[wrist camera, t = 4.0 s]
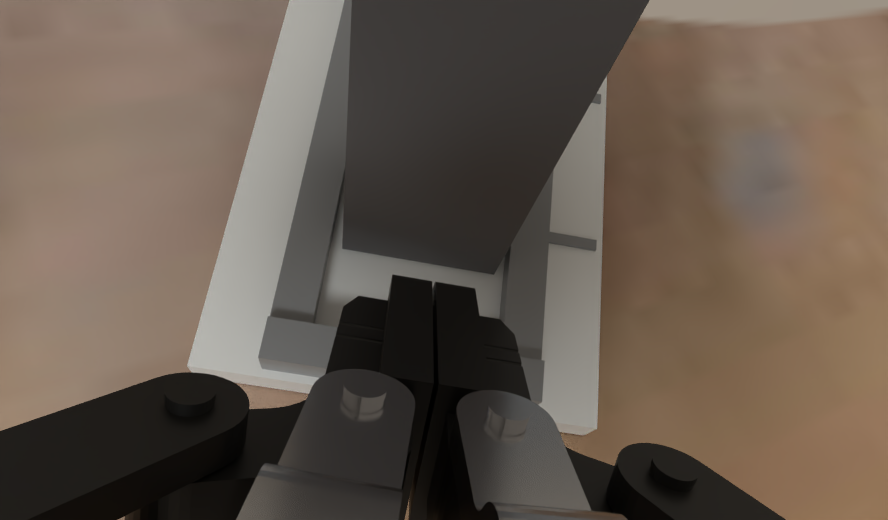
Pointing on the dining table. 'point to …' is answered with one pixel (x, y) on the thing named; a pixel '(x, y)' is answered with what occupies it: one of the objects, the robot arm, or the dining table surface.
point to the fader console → (363, 274)
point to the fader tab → (465, 117)
